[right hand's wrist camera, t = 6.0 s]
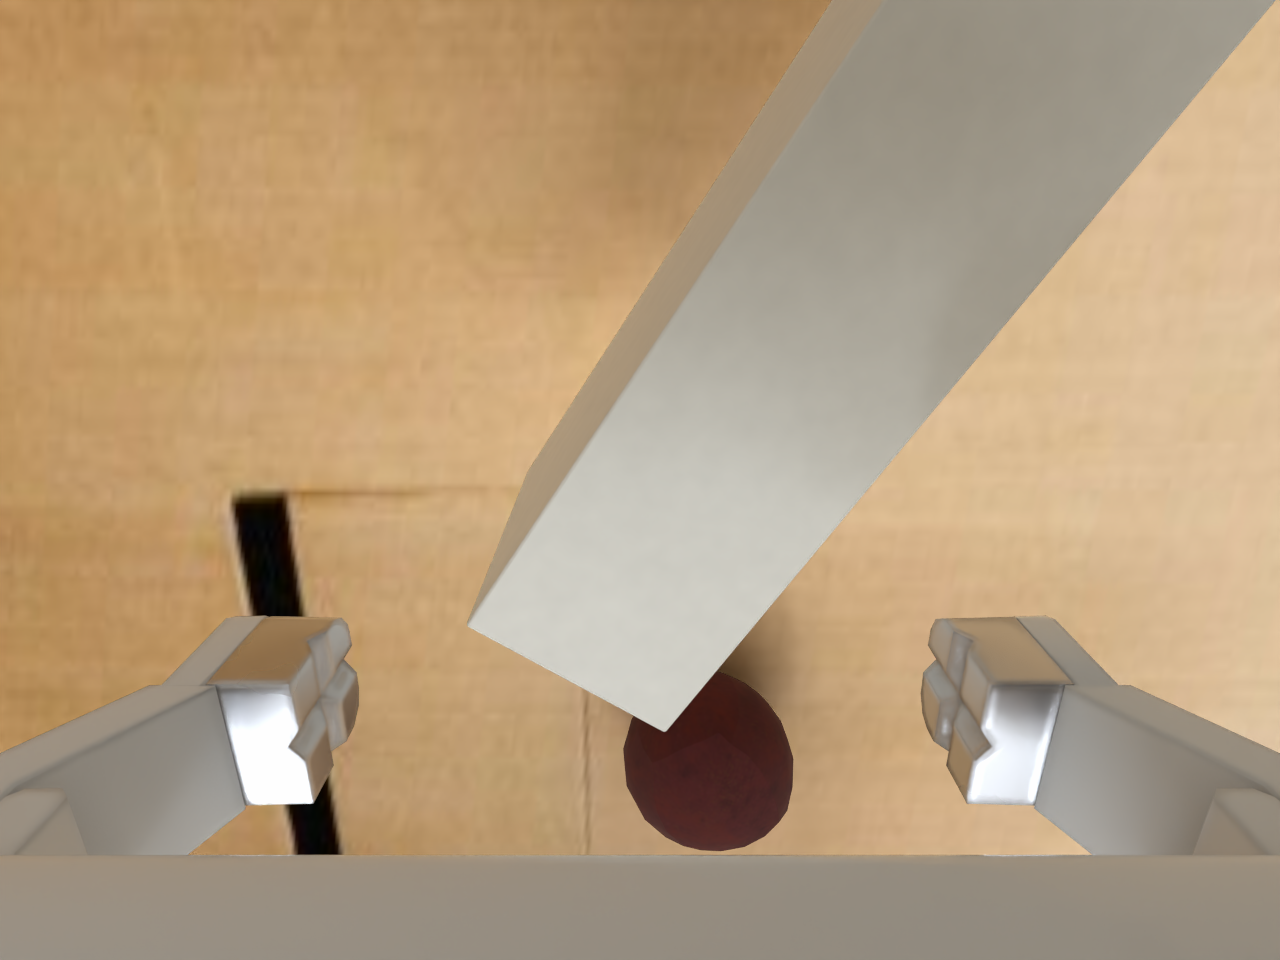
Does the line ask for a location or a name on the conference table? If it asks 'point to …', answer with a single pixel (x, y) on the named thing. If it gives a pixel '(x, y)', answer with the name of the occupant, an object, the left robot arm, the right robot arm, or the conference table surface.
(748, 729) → the potato
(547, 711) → the conference table surface
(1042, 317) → the conference table surface
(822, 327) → the bar
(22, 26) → the conference table surface
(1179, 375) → the conference table surface
